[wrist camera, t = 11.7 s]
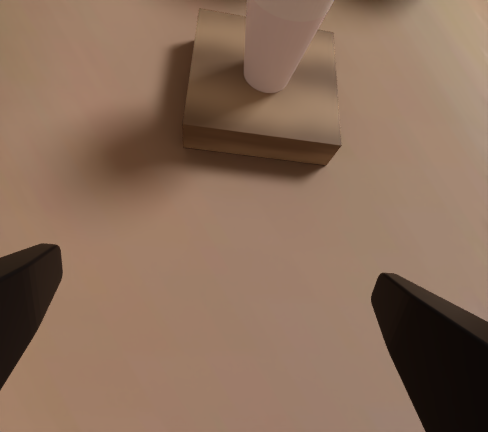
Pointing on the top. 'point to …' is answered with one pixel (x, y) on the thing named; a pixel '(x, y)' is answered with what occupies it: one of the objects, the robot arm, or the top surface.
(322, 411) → the top surface
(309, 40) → the smoothie
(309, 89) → the walnut plinth
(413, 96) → the top surface
